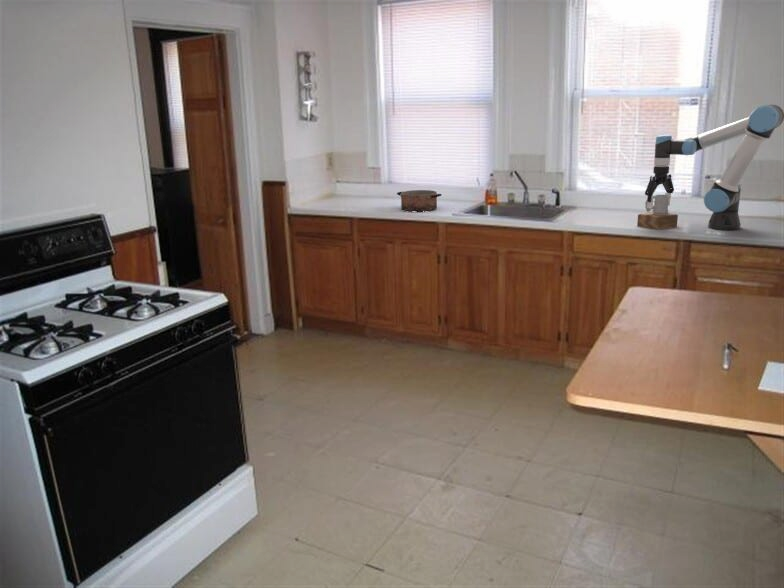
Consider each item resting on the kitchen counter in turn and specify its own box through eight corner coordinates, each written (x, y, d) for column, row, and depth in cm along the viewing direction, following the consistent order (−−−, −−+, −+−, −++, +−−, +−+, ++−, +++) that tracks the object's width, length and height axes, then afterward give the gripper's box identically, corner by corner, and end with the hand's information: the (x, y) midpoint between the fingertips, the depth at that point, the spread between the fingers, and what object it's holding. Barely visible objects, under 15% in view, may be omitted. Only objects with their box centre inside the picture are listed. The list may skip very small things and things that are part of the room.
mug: (669, 215, 367) (671, 192, 364) (645, 215, 369) (647, 192, 366) (666, 212, 374) (668, 190, 371) (643, 212, 376) (644, 190, 373)
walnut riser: (676, 226, 371) (677, 214, 370) (659, 229, 364) (660, 217, 363) (654, 222, 383) (655, 211, 381) (637, 225, 376) (638, 214, 374)
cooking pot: (448, 208, 448) (448, 191, 445) (431, 214, 430) (430, 196, 427) (408, 205, 464) (407, 189, 461) (389, 210, 446) (389, 193, 443)
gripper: (671, 163, 374) (667, 203, 380) (639, 167, 362) (636, 208, 368) (683, 164, 368) (679, 205, 374) (651, 168, 356) (648, 210, 361)
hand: (658, 206), depth 371 cm, fingers open, 13 cm apart
